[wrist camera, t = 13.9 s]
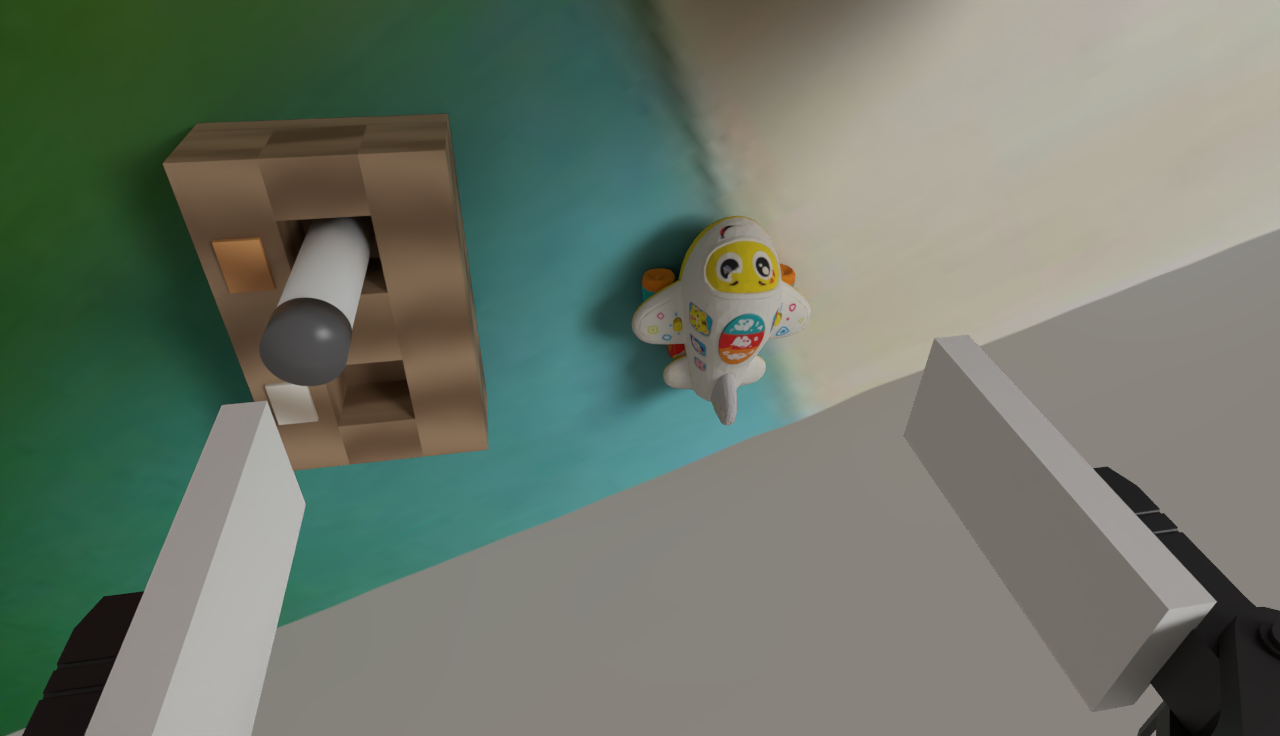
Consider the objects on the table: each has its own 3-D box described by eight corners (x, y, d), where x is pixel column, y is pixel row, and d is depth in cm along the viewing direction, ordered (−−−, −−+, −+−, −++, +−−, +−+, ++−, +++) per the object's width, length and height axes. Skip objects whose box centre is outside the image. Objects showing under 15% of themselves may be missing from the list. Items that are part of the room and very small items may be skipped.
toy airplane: (640, 448, 53) (654, 270, 43) (620, 368, 59) (627, 198, 49) (815, 430, 55) (865, 257, 45) (777, 355, 62) (814, 190, 52)
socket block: (196, 123, 42) (160, 165, 37) (447, 113, 44) (444, 152, 39) (297, 415, 55) (280, 474, 51) (486, 396, 58) (488, 452, 53)
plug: (305, 195, 44) (248, 324, 33) (371, 192, 45) (336, 317, 34) (321, 252, 47) (272, 389, 36) (383, 248, 47) (354, 382, 36)
